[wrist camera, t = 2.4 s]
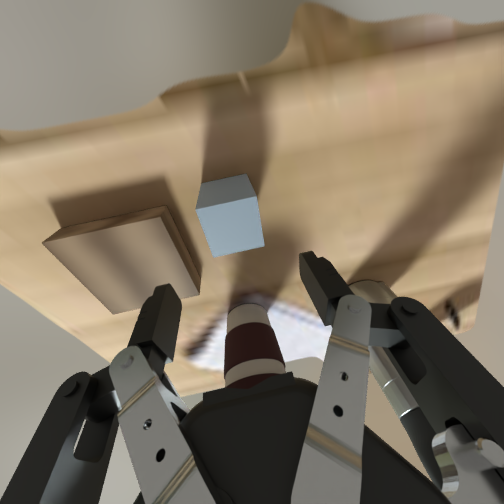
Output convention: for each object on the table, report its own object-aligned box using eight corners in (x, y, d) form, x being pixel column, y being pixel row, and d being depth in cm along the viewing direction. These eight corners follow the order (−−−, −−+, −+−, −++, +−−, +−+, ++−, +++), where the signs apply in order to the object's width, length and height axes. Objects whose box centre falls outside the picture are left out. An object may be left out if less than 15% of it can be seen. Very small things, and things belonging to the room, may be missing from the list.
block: (246, 173, 21) (256, 196, 16) (253, 214, 24) (264, 246, 19) (201, 183, 21) (195, 209, 16) (214, 223, 24) (213, 257, 19)
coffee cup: (252, 288, 32) (273, 396, 20) (283, 314, 37) (314, 411, 25) (207, 316, 34) (202, 427, 22) (242, 336, 40) (253, 435, 28)
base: (166, 205, 22) (160, 216, 20) (200, 279, 29) (199, 294, 27) (60, 228, 22) (41, 243, 19) (121, 297, 29) (113, 314, 27)
